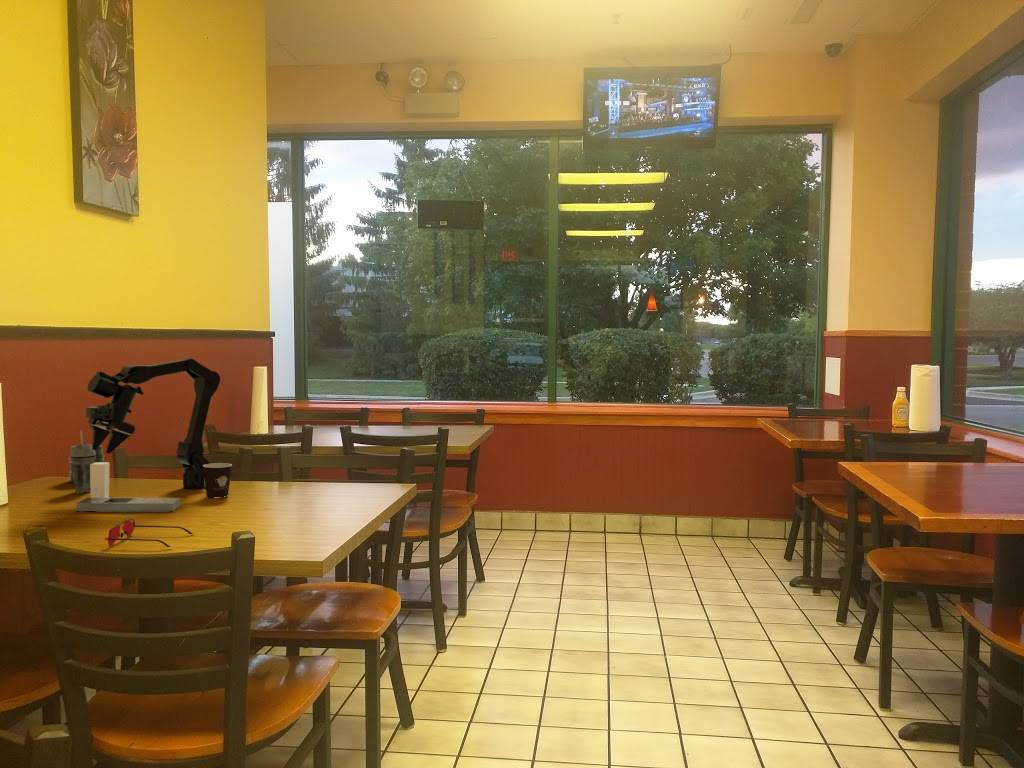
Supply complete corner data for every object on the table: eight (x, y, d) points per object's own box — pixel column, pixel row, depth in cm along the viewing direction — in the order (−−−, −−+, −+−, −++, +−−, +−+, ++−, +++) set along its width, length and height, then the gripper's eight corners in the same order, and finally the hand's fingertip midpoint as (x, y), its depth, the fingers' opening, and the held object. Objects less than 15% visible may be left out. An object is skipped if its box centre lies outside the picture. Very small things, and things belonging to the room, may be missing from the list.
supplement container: (84, 477, 277) (84, 443, 277) (111, 479, 275) (111, 445, 275) (61, 482, 267) (61, 447, 266) (89, 484, 265) (89, 449, 264)
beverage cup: (101, 490, 256) (101, 428, 255) (86, 494, 249) (86, 431, 248) (79, 489, 257) (79, 427, 256) (65, 493, 250) (64, 430, 249)
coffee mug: (232, 493, 258) (232, 462, 257) (231, 498, 250) (231, 467, 249) (193, 494, 254) (193, 463, 253) (191, 500, 246) (191, 468, 245)
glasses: (130, 535, 204) (130, 516, 204) (195, 536, 204) (195, 517, 204) (103, 549, 190) (103, 529, 190) (173, 551, 190) (173, 530, 190)
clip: (109, 501, 240) (109, 462, 239) (104, 504, 236) (104, 464, 235) (95, 501, 240) (95, 462, 239) (90, 504, 236) (90, 464, 235)
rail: (180, 506, 237) (180, 497, 237) (172, 512, 229) (172, 503, 229) (87, 506, 234) (87, 497, 233) (76, 512, 226) (76, 503, 226)
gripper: (82, 392, 245) (61, 440, 241) (110, 396, 233) (89, 446, 230) (115, 404, 253) (96, 451, 249) (144, 409, 242) (124, 458, 238)
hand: (100, 451), depth 241 cm, fingers open, 9 cm apart
